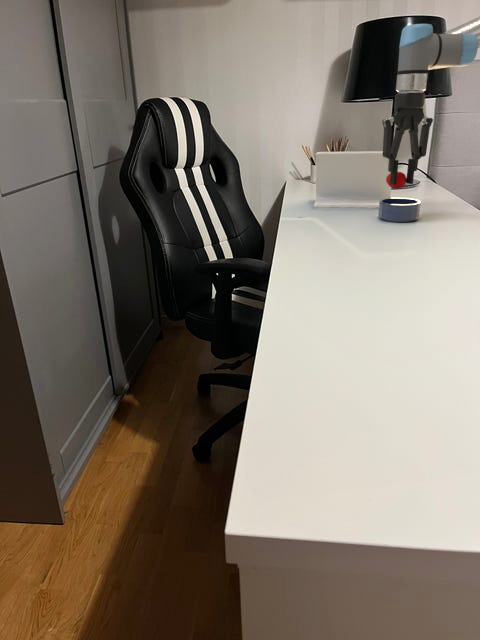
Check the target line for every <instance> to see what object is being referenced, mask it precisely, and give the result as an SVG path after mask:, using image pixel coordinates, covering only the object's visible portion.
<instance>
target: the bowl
mask: <svg viewBox="0 0 480 640" xmlns="http://www.w3.org/2000/svg"><path fill="white" fill-rule="evenodd" d="M420 211H421V201H420V200H419V199H415V198H409V197H390V198H387V199H382V200H380V201H379V208H378V216H377V217H378V218H379V219H381V220H383V221H386V222H389V223H390V222H391V223H409V222H410V223H411V222H414V221H416V220H418V219H420V213H421V212H420Z"/></svg>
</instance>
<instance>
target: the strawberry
mask: <svg viewBox="0 0 480 640" xmlns="http://www.w3.org/2000/svg"><path fill="white" fill-rule="evenodd" d="M390 175H391V173H390V174H389V175H388V176H387V178H386V182H387V184H388V185H389V186H390V187H392V188H393V189H401V188H403V187H404V186H405V185H406V184H407V183H406V179H407V175H406V174H405V173H404V172H402V171H398V172H397V182H396V185H393V184H390ZM392 188H391V189H392Z"/></svg>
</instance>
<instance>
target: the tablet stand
mask: <svg viewBox="0 0 480 640" xmlns="http://www.w3.org/2000/svg"><path fill="white" fill-rule="evenodd" d="M395 160H397V158H396V159H395ZM388 165H389V159H388V158H385V157H383V150H380V151H379V150H376V151H375V150H372V151H371V150H370V151H364V150H363V151H317V152H316V153H315V200H314V202H313V207H314V208H345V209H346V208H348V209H349V208H350V209H352V208H353V209H354V208H356V209H357V208H358V209H379V201H380V200H382V199H387V198H391V195H392V194H391V193H392V187H390V186H389V185H388V184H387V182H386V178H387V176H388V175H389V174H390V173H391V172H389V171H388Z"/></svg>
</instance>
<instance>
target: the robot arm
mask: <svg viewBox="0 0 480 640" xmlns="http://www.w3.org/2000/svg"><path fill="white" fill-rule="evenodd" d="M398 48H399V50H398V51H399V52H398V53H399V54H398V64H397V66H398V67H397V75H396V83H395V84H396V85H395V91H396V92H397V93H396V94H395V98H394V105H393V106H394V107H393V109H394V111H393V113H392V116H391V117H388V118H383V119H382V126H383V139H382V151H383V157H385V158H388V159H389V165H388V171H389V172H391V175H390V184H393V185H396V182H397V172H399V161H400V160H398V159H397V157H398V153H399V151H400V150H399V149H400V146H401V143H402V139H403V136H404V134H405V132H406V131H407V132H408V134H409V144H410V156H411V157H410V158H408V161H407V171H406V183H405V184H409V185H413V184H414V178H415V172H417V171H418V165H419V160H420V159H421V158H422V157H423V158H424V157H426V155H427V151H428V144H429V137H430V130H431V126H432V124H433V122H434V118H432V117H428V116H425V113H424V108H425V101H426V93H425V91H426V90H427V84H428V83H427V82H428V75H429V71H430V70H437V69H445V68H454V67H455V68H456V67H457V68H461V67H468V66H470V65H471V64H472V63H473V62H474V61H475V59H476V56H477V54H478V49H479V48H480V16H478V17H475V18H473V19H472V20H469V21H467V22H465V23H462V24H460V25H458V26H455V27H453V28H450V29H449V30H446V31H444V32H442V33H434V27H433V25H432V24H431V23H415V24H414V23H413V24H409V25H406V26H404V27H403V28H402V30H401V35H400V40H399V46H398ZM420 124H421V129H420V134H419V125H420ZM393 125H395V130H394V137H393V139H392V134H393V133H392V132H393V127H392V126H393ZM419 135H420V136H419ZM395 159H396V160H395Z"/></svg>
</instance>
